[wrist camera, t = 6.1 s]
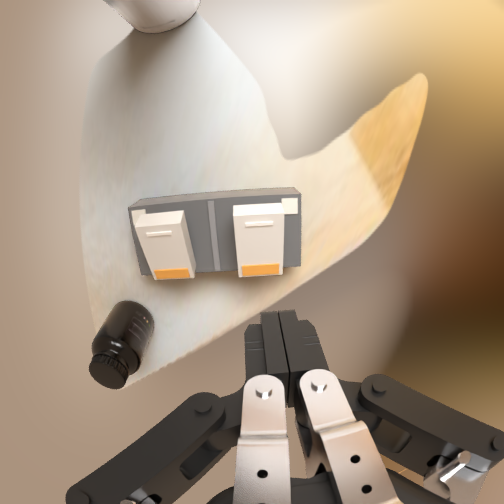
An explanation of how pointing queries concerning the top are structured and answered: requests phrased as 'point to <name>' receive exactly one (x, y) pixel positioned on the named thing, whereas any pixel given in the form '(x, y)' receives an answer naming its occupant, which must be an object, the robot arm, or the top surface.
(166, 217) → the block
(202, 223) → the switch panel
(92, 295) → the top surface
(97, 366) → the supplement bottle
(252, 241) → the rocker
